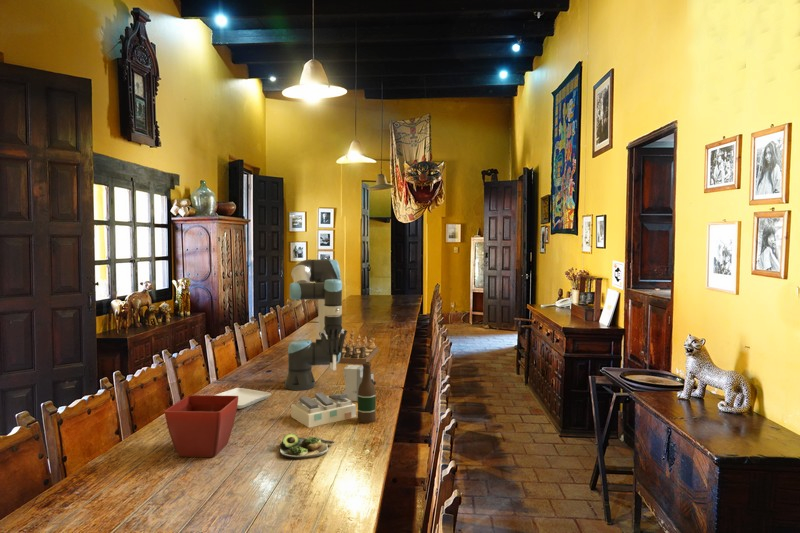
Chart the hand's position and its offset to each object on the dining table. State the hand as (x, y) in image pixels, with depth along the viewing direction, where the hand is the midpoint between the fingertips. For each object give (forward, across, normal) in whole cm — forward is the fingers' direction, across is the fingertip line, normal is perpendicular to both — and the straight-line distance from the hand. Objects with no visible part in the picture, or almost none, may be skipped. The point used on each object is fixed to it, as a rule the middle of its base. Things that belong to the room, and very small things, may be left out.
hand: (333, 369), depth 226 cm
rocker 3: (+12, 0, -4) cm, 12 cm away
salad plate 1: (+19, -28, +37) cm, 50 cm away
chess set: (+19, +60, +92) cm, 112 cm away
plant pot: (+18, -58, -10) cm, 62 cm away
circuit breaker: (+19, +19, +8) cm, 28 cm away
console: (+18, -7, -4) cm, 20 cm away
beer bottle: (+18, +5, -19) cm, 27 cm away
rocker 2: (+12, -7, -4) cm, 14 cm away
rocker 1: (+12, -14, -4) cm, 19 cm away
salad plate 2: (+19, -30, -30) cm, 47 cm away
